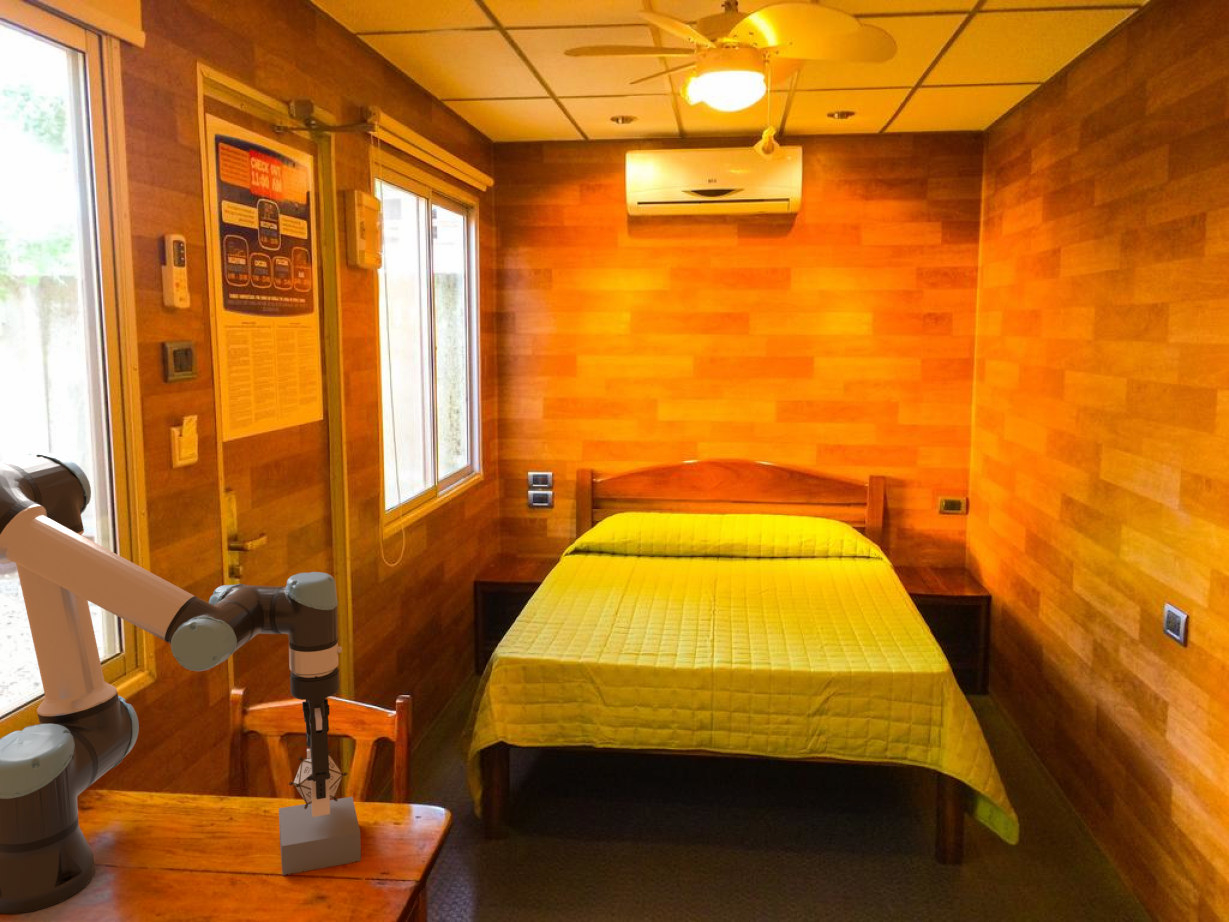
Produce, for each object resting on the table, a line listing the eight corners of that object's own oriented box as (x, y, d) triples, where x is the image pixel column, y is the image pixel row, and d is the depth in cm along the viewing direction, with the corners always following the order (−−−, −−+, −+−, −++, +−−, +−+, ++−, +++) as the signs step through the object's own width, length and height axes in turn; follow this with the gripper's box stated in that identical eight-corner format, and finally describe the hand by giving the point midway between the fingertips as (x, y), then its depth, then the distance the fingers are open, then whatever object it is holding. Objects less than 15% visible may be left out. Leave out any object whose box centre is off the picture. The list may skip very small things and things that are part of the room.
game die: (306, 825, 153) (267, 779, 152) (341, 786, 159) (304, 743, 158) (333, 817, 147) (292, 770, 146) (368, 777, 154) (329, 732, 152)
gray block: (282, 875, 147) (281, 846, 146) (279, 835, 158) (278, 808, 157) (360, 860, 151) (360, 832, 151) (352, 823, 162) (352, 796, 162)
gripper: (345, 692, 141) (349, 829, 145) (332, 643, 161) (336, 765, 165) (293, 698, 138) (298, 838, 142) (286, 648, 159) (291, 772, 162)
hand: (318, 799), depth 153 cm, fingers closed on game die, 9 cm apart
